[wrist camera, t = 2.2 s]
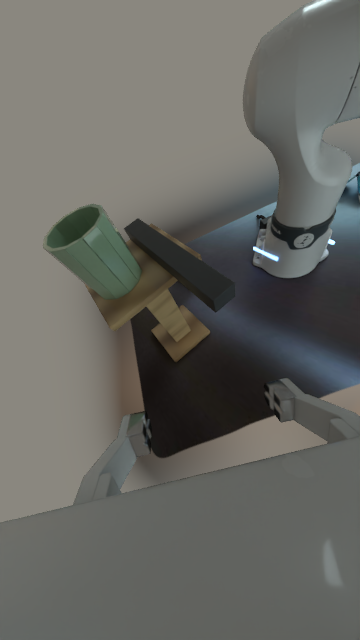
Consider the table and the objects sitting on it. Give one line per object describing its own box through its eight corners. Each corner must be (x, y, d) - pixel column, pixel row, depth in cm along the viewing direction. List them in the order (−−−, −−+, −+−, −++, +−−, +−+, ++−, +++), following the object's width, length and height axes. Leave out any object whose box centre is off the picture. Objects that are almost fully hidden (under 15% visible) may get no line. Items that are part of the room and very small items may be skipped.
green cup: (106, 263, 30) (62, 212, 23) (146, 257, 28) (111, 198, 20) (90, 301, 27) (31, 255, 19) (134, 298, 24) (86, 244, 17)
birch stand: (146, 334, 52) (80, 276, 30) (186, 301, 54) (151, 223, 32) (172, 370, 45) (109, 327, 23) (218, 330, 46) (200, 254, 24)
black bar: (131, 240, 31) (123, 228, 29) (144, 230, 31) (137, 218, 29) (215, 313, 19) (213, 301, 17) (235, 296, 20) (235, 282, 18)
